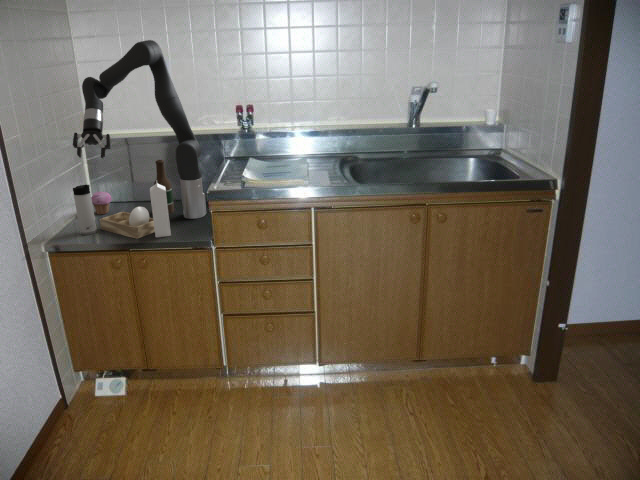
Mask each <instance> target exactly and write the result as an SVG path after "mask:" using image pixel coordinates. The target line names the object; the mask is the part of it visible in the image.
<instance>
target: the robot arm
mask: <svg viewBox="0 0 640 480" xmlns="http://www.w3.org/2000/svg"><path fill="white" fill-rule="evenodd" d="M144 66H145V67H146V66H149V68H150V71H151V74H152V76H153V82H154V98H155V102H156V104H157V106H158V109H159V112H160V113H161V115H162V117H163V118H164V120H165V121H166V122H167V124H168V125H169V126H170V128H171V129H172V130H173V133H174V134H175V136H176V139H177V143H178V145H177V146H176V148H175V162H176V169H177V173H178V175H179V182H180V192H181V202H182V210H183V212H182V213H183V218H185V219H190V220H192V219H193V220H195V219H196V220H197V219H201V218H203V217H205V216H206V214H207V205H206V203H207V201H206V195H205V194H206V193H204V187H203V178H202V171H201V170H200V168H199V158H200V157H201V154H202V148H201V145H200V142H199V141H198V139H197V137H196V136H195V134H194V132H193V130H192V128H191V126H190V123H189V120H188V118H187V114H186V113H185V112H186V111H185V109H184V108H183V105H182V102H181V99H180V96H179V94H178V93H177V90H176V88H175V86H174V85H175V84H174V82H173V80H172V79H171V76H170V73H169V70H168V66H167V64H166V60H165V56H164V54H163V50H162V48H161V47H160V45H159V44H158V43H157V41H155V40H152V39H148V40H142V41H137V42H136V43H134V45H132V46H131V48H130V49H128V51H127V52H126V53H125V54H124V56H122V57H121V58H120V59H119V60H118V61H116V62H115V63H113V64H112V65H111V66H109V67H108V68H106V69H105V70H103V71H102V72H101V73H100V75H99V77H98V78H99V80H98V79H97V78H95V77H92V76H87V77H85V79H83V82H82V85H81V90H82V95H83V99H84V103H85V106H84V113H83V123H82V132H81V133H78V132H74V133H73V139H72V146H73V148H74V149H76V155H77V157H78V158H80V159H81V158H82V156H83V155H82V153H83V152H82V151H83V150H82V149H83V148H84V147H86V146H87V145H88V146H97V145H98V146H99V147H100V158H101V159H104V158H105V157H106V152H107V150H111V136H110V133H106V134H104V133H103V129H104V125H103V124H104V102H103V101H102V100H103V99H105V98H107V96H109V94H110V92H111V91H112V89H113V88H114V87H116V86H117V85H118V84H120V83H122V81H124V80H125V79H126V78H127V77H128V75H130V73H132V72H133V71H135V70H136V69H139V68H141V67H144ZM80 139H81V140H80ZM103 139H104V141H106V144H104V143H103V142H102V140H103ZM79 140H80V142H79Z"/></svg>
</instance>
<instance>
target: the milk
mask: <svg viewBox="0 0 640 480" xmlns="http://www.w3.org/2000/svg"><path fill="white" fill-rule="evenodd" d="M149 196H150V202H151V211H152V218H153V221H154V229H155V232H154V234H155V235H154V237H155V238H162V237H171V236H172V233H171V232H172V231H171V226H170V225H171V224H170V217H169V215H170V214H168V206H167V197H166V188H165V186H162V185H160V184H158V183H157V184H155V185H154V184H153V185H152V186H151V187H149Z"/></svg>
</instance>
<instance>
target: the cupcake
mask: <svg viewBox="0 0 640 480" xmlns="http://www.w3.org/2000/svg"><path fill="white" fill-rule="evenodd" d="M91 199H92V205H93V208H94V209H95V213H96V214H97V215H106V214H108V213H109V211H110V203H111V201H112V195H111V194H110V193H109V192H107V191H96V192H94V193H93V194H92V195H91Z"/></svg>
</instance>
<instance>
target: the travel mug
mask: <svg viewBox="0 0 640 480" xmlns="http://www.w3.org/2000/svg"><path fill="white" fill-rule="evenodd" d="M72 192H73V199H74V204H75V210H76V216H77V222H78V226H79V227H78V228H79V232H80V234H81V235H82V236H83V235H84V236H90V235H94V234H96V233H97V232H98V229H97V224H96V219H95V212H94V205H93V204H92V199H91V197H92V193H91V189H90V184H81V185H77V186H75V187H73V188H72Z"/></svg>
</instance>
